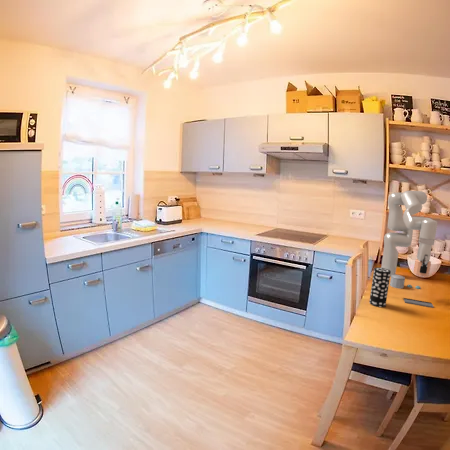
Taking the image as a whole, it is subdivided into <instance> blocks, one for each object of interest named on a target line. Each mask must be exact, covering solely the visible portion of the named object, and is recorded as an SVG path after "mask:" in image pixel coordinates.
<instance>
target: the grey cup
mask: <svg viewBox="0 0 450 450" xmlns="http://www.w3.org/2000/svg"><path fill="white" fill-rule="evenodd" d="M405 280H406V277H405V276H404V275H400V274H396V275H391V277H390V280H389V286H390V287H392V288H394V289H404V287H405Z"/></svg>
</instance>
